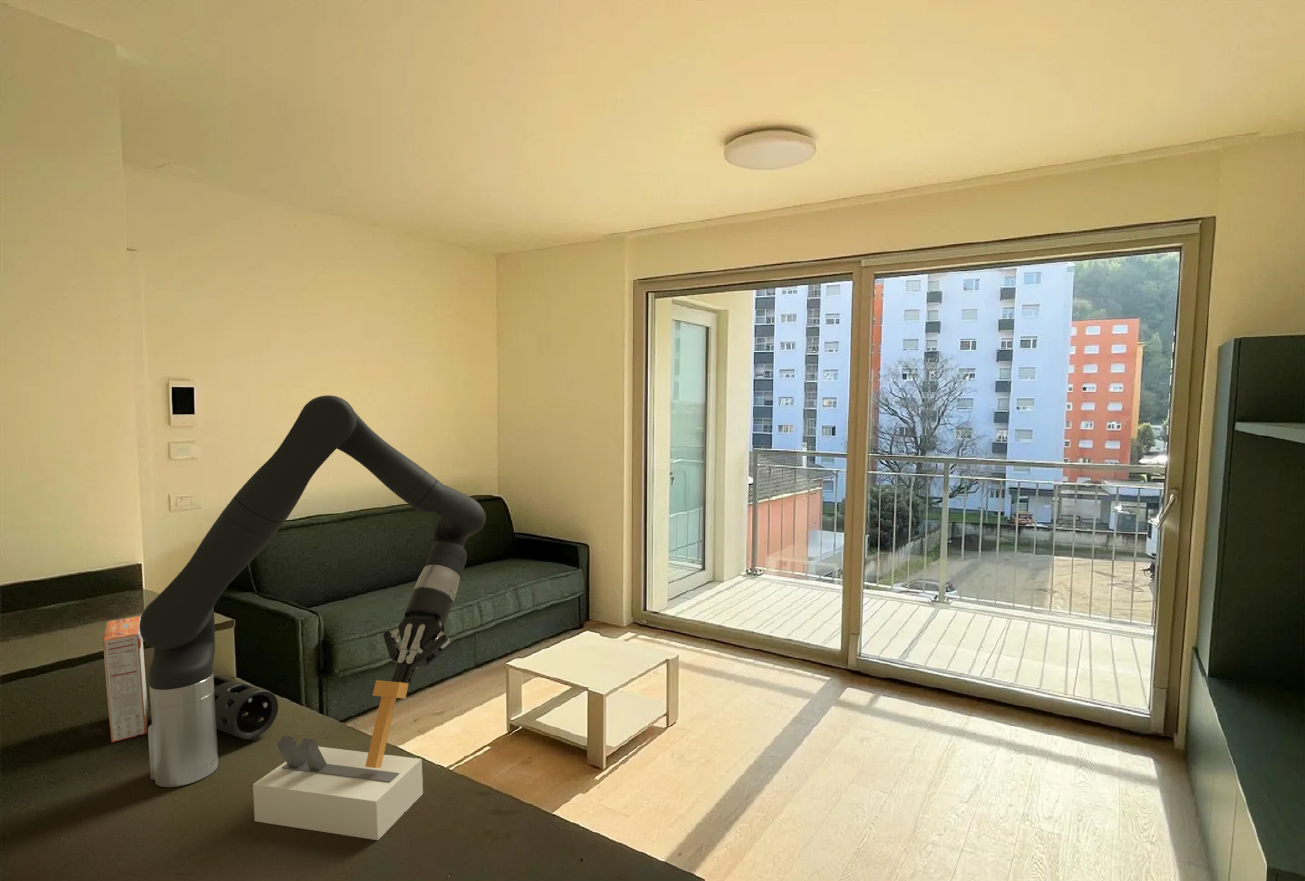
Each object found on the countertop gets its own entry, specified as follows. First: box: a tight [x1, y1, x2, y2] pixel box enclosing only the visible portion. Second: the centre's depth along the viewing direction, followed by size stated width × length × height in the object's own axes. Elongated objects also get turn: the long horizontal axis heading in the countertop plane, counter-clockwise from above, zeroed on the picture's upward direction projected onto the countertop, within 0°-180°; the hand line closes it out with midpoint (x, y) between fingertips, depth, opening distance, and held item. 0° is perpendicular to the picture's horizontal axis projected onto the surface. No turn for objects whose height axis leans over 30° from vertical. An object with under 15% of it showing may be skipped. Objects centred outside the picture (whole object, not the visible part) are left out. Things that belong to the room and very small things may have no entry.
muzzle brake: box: [213, 673, 279, 742], centre depth 135 cm, size 10×28×10 cm, turn 62°
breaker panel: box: [252, 735, 424, 841], centre depth 107 cm, size 22×12×12 cm, turn 77°
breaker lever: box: [365, 679, 410, 768], centre depth 108 cm, size 4×3×13 cm, turn 77°
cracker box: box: [102, 615, 148, 744], centre depth 136 cm, size 14×6×21 cm, turn 36°
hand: (398, 687), depth 113 cm, fingers closed
